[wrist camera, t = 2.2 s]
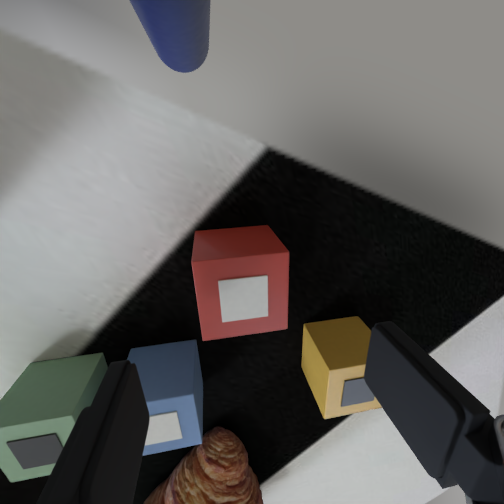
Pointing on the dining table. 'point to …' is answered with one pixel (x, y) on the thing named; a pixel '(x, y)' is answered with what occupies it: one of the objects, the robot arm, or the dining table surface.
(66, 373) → the sage block
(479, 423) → the robot arm
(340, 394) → the mustard block
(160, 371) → the blue block
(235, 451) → the pastry
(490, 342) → the dining table surface
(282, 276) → the red block
